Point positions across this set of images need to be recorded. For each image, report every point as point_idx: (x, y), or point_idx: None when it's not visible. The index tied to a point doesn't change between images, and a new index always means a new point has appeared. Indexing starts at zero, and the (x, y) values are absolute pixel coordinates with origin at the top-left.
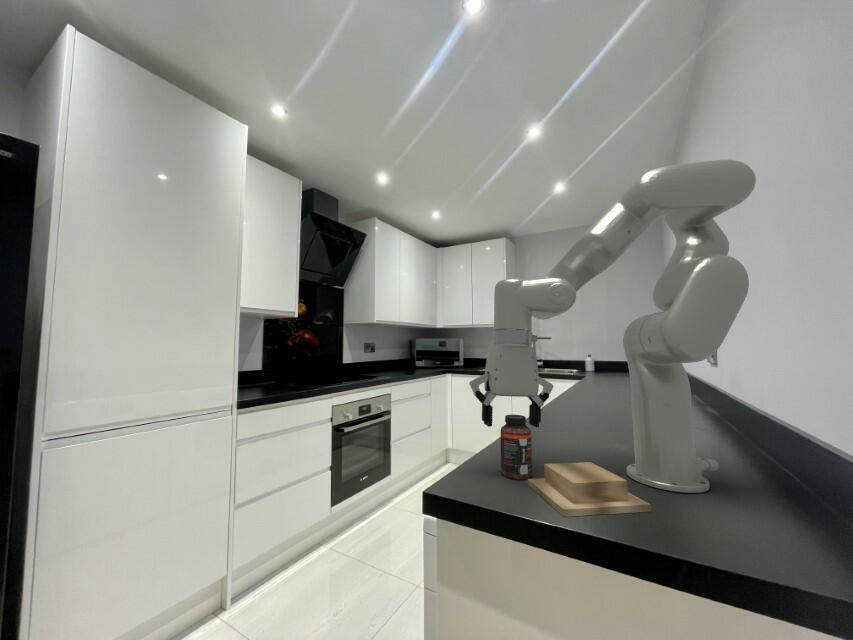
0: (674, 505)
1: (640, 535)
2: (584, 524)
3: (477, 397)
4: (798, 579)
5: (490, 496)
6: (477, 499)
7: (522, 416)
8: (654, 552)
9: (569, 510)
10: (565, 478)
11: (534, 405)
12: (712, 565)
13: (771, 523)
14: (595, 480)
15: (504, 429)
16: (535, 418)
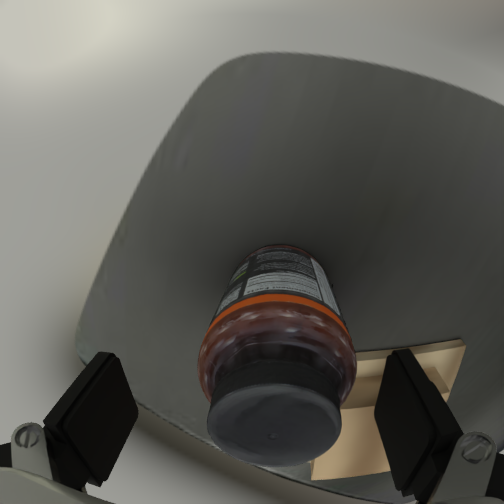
0: (469, 416)
1: (348, 477)
2: (298, 465)
3: (3, 455)
4: (406, 497)
5: (176, 390)
6: (151, 394)
7: (314, 447)
8: (333, 492)
9: None
10: (313, 467)
11: (414, 483)
12: (364, 497)
13: (500, 434)
14: (362, 471)
15: (206, 397)
16: (383, 442)
